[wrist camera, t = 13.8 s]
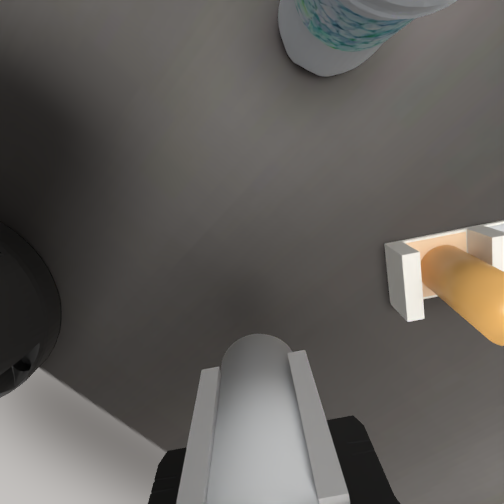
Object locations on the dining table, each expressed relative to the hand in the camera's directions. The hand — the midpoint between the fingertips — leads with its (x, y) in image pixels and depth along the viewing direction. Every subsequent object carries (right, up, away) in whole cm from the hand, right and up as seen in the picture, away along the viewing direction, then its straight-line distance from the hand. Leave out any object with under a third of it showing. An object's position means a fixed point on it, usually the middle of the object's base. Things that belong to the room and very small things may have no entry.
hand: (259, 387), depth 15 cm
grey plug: (0, 0, +2) cm, 2 cm away
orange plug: (+14, +5, +12) cm, 19 cm away
